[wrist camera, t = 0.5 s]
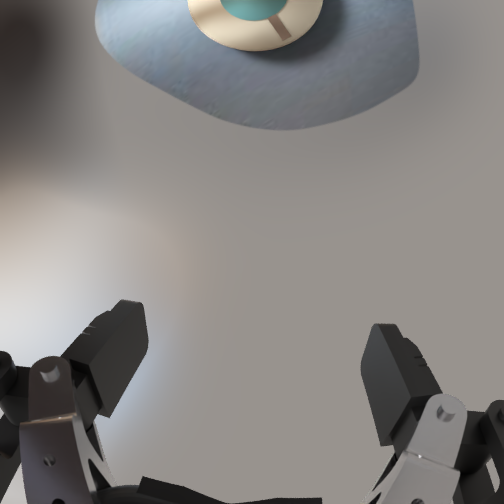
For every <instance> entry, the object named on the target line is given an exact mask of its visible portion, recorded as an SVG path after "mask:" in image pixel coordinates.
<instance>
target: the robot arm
mask: <svg viewBox="0 0 504 504" xmlns="http://www.w3.org/2000/svg"><path fill="white" fill-rule="evenodd" d="M147 349H148V333H147V326H146V320H145V313H144V307H143V304H142V303H140V302H135V301H128V300H120V301H119V302H118V303H117V304H116V305H115V306H114V308H113V309H112V310H111V311H106V312H104V313H102V314H100V315H99V316H97V317H96V318H95V319H94V320H93V321H92V322H91V323H90V324H89V326H88V327H86V328H85V329H84V331H83V332H82V334H80V335H79V336H78V337H77V338H76V339H75V340H74V342H73V343H72V344H71V345H70V346H69V347H68V348H67V349H66V351H65V352H64V353H63V354H62V355H61V356H60V357H58V356H48V357H45V358H42V359H40V360H38V361H37V362H35V363H34V364H33V365H32V367H31V368H30V367H22V366H15V364H14V362H13V360H12V358H11V356H10V354H8V353H7V352H4V351H0V408H1V409H2V411H3V412H4V415H3V416H2V417H1V419H0V503H1V501H2V499H3V497H4V495H5V493H6V491H7V489H8V487H9V485H10V483H11V480H12V479H13V477H14V475H15V473H16V471H17V469H18V467H19V465H20V463H21V465H22V474H23V482H24V488H25V494H26V500H27V504H229V503H224V502H221V501H219V500H216V499H213V498H211V497H208V496H205V495H203V494H201V493H198V492H196V491H193V490H191V489H189V488H186V487H184V486H179V485H175V484H170V483H166V482H162V481H158V480H155V479H151V478H147V477H144V476H143V477H142V479H141V482H140V485H124V486H117V483H116V481H115V480H114V478H113V476H112V474H111V472H110V470H109V467H108V464H107V461H106V458H105V455H104V452H103V449H102V445H101V442H100V438H99V435H98V431H97V428H96V424H95V422H94V419H95V417H96V416H97V414H99V415H102V416H105V417H108V418H110V416H111V415H112V413H113V411H114V409H115V407H116V406H117V404H118V402H119V400H120V398H121V396H122V395H123V393H124V391H125V389H126V387H127V386H128V384H129V382H130V381H131V379H132V377H133V375H134V374H135V372H136V370H137V368H138V367H139V365H140V363H141V362H142V360H143V358H144V356H145V355H146V352H147ZM422 357H423V356H422V354H421V352H420V351H419V349H418V347H417V346H416V345H415V344H414V343H413V342H411V341H410V340H409V339H408V338H403V336H402V335H401V333H400V331H399V329H398V327H397V326H396V325H395V324H374V325H373V326H372V329H371V332H370V335H369V338H368V342H367V345H366V348H365V351H364V354H363V357H362V361H361V376H362V379H363V382H364V386H365V389H366V393H367V396H368V400H369V403H370V407H371V410H372V414H373V418H374V421H375V426H376V429H377V433H378V437H379V441H380V445H381V446H389V445H393V446H394V450H395V451H394V452H393V454H392V455H391V457H390V459H389V460H388V462H387V464H386V465H385V467H384V469H383V471H382V472H381V474H380V476H379V477H378V479H377V480H376V482H375V484H374V485H373V487H372V488H371V490H370V491H369V493H368V494H367V496H366V497H365V498H364V500H363V501H362V502H361V503H360V504H450V502H451V500H452V498H453V502H454V504H504V400H496V401H494V402H492V403H491V404H490V406H489V407H488V409H487V410H486V411H485V412H476V411H467V410H466V408H465V406H464V404H463V403H462V402H461V401H460V400H459V399H457V398H456V397H454V396H451V395H449V394H443V393H442V391H441V389H440V387H439V385H438V383H437V381H436V380H435V378H434V376H433V374H432V372H431V370H430V368H429V367H428V366H427V363H426V361H425V359H424V358H422ZM491 458H492V459H493V461H494V464H495V467H496V469H497V473H498V475H499V479H500V485H499V488H498V490H497V492H496V493H495V491H494V488H493V484H492V481H491V478H490V475H489V472H488V469H487V467H486V463H487V462H488V461H489V460H490V459H491ZM235 504H322V498H273V499H268V500H260V501H254V502H244V503H235Z"/></svg>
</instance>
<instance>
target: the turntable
mask: <svg viewBox="0 0 504 504" xmlns="http://www.w3.org/2000/svg"><path fill="white" fill-rule="evenodd" d="M322 4H323V0H188V7H189V11H190V14H191V16H192V18H193V20H194V22H195V24H196V25H197V26H198V28H199V29H200V30H201V31H202V32H203V33H204V34H205V35H207V36H208V37H209V38H211V39H212V40H214V41H216V42H218V43H220V44H222V45H225V46H227V47H231V48H235V49H239V50H245V51H267V50H272V49H276V48H280V47H283V46H285V45H288V44H290V43H292V42H294V41H296V40H297V39H299V38H300V37H302V36H303V35H304V34H305V33H306V32H307V31H308V30H309V29H310V28H311V27H312V26H313V24H314V23H315V21H316V20H317V18H318V16H319V13H320V11H321V8H322Z"/></svg>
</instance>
